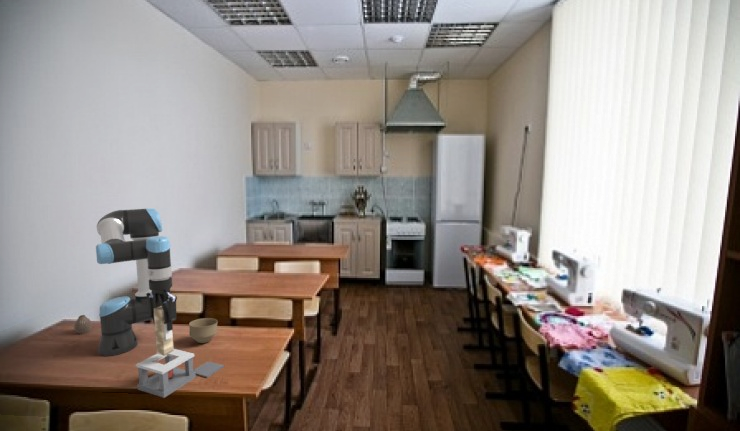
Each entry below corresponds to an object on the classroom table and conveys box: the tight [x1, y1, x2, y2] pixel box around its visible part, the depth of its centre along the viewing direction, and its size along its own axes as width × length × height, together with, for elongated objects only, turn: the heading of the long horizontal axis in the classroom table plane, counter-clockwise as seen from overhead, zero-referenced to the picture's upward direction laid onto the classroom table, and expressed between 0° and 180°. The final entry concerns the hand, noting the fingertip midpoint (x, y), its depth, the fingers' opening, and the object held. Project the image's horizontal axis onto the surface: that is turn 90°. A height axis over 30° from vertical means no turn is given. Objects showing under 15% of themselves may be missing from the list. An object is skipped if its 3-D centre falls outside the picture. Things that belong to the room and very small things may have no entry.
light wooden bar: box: [153, 306, 175, 356], centre depth 135 cm, size 4×4×18 cm
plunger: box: [168, 369, 174, 380], centre depth 137 cm, size 4×4×5 cm
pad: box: [193, 361, 225, 379], centre depth 146 cm, size 9×9×1 cm
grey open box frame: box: [135, 348, 197, 399], centre depth 136 cm, size 14×14×10 cm
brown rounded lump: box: [73, 314, 92, 335], centre depth 182 cm, size 7×7×9 cm
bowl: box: [188, 317, 218, 344], centre depth 172 cm, size 13×13×10 cm
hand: (164, 337), depth 135 cm, fingers closed on light wooden bar, 4 cm apart
